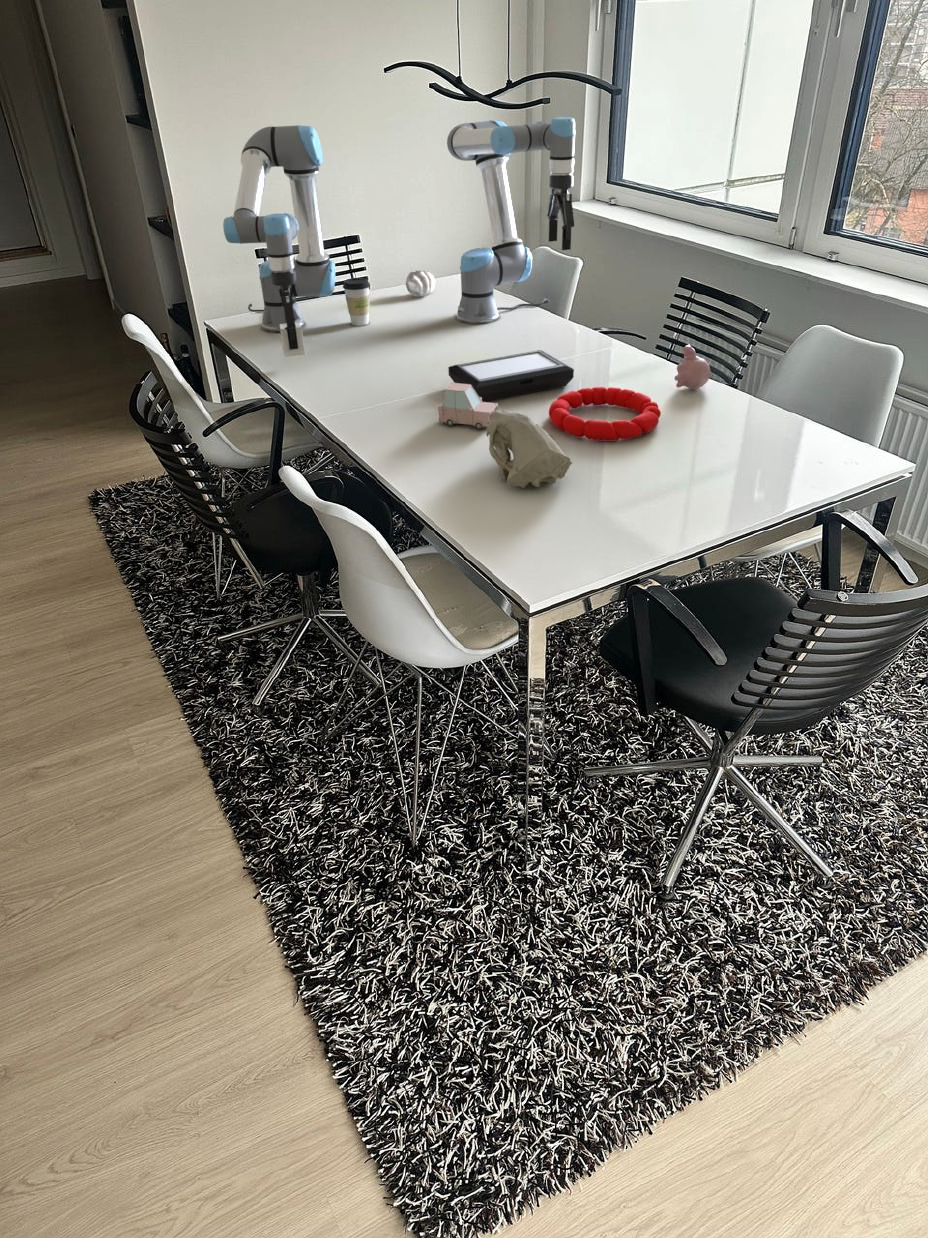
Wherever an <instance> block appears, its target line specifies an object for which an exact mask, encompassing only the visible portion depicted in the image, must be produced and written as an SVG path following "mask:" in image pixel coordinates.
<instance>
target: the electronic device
mask: <svg viewBox="0 0 928 1238" xmlns="http://www.w3.org/2000/svg"><path fill="white" fill-rule="evenodd" d="M574 374H575V369H574V368H573V367H571V366H569V365H568V364H566V363H564V362H563V361H561V360H559V359H557V358H556V357H554V356H552V355H551V354H549V353H547V352H545V350H544V351H543V350H541V349H539V350H532V351H528V352H521V353H515V354H510V355H505V356H499V357H493V358H487V359H482V360H476V361H470V362H465V363H457V364H454V365H451V366H448V376H449V378H450V379H451V380H452V381H453V383H460V384H470V385H471V386H472V387H473V389H474V390H475V391H476V393H477V394H478V396H479V397H482V402H488V401H489V402H490V401H493V400H494V401H495V400H498V399H504V398H509V397H515V396H520V395H526V394H530V393H536V392H541V391H546V390H552V389H557V388H561V387H563V388H564V387H566V386H568V384H569V383H570V382H571V381H572V380H573V379H574V377H575V376H574Z"/></svg>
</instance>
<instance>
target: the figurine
mask: <svg viewBox="0 0 928 1238" xmlns="http://www.w3.org/2000/svg"><path fill="white" fill-rule="evenodd" d="M682 354H683V358H684V359H683V361H682V362H679V363H678V364H677V365H676V372H677V375H675V376H674V381H675V382H676V381H677V382H676V384H675V386H676V388H681V387H686V388H688V389H693V390H694V389H695V390H696V389H700V388H703V387H704V386H705V385H706V384H707V383H708V382H709V379H710V377H711V367H710V364H709V362H708V361H706V359H704V358H702V357H700V356H697V353H696V350H695V349H694V347H692V345H690V344H686V345H685V346H684V347H683V348H682Z"/></svg>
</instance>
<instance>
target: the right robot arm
mask: <svg viewBox="0 0 928 1238" xmlns="http://www.w3.org/2000/svg"><path fill="white" fill-rule="evenodd" d="M575 144H576V121H575V118H574V117H568V116H559V117H553V118H552V119H551V120H550V122H546V121H536V122H535V121H534V122H533V123H526V124H516V125H515V124H514V125H507V124H506V123H504V122H503V121H501V120H491V119H490V120H485V121H476V122H464V123H460V124H457V125H456V126H455V127H453V128H452V129H451V130H450V131H449V133H448V136H447V140H446V146H447V150H448V152H449V153H450V155H451V156H452V157H453V158H455V159H456V160H459V161H462V162H463V161H464V162H467V161H468V162H469V161H470V162H471V161H475V165H476V167H475V168H477V169H478V170H479V171H480V172H481V175H482V176H481V177H482V182H483V187H484V193H485V198H486V204H487V209H488V213H489V214H488V215H489V219H490V220H489V221H490V227H491V232H492V236H493V237H492V238H493V244H492V245H491V247H478V248H473V249H469V250H467V251H465V252H464V253H463V254H462V255H461V257H460V266H459V269H460V284H461V285H460V288H461V298H460V301H459V305H458V306H457V312H456V319H457V320H458V321H459V322H461V323H466V324H486V323H487V324H488V323H492V322H495V321H496V320H498V319H499V317H500V316H499V314H500V313H499V311H501V310H504V311H511V310H516V309H518V308H520V307H538V306H542V305H543V304H544V303H545V302H546V303H549V302H550V299H548V298H545V297H544V298H543V299H542V301H540V302H538V303H518V304H516V305H515V306H510V307H506V306H505V307H504V306H503V307H501V306H499V307H497V304H496V303H497V302H496V300H495V297H494V287H498V286H504V285H510V284H517V283H521V282H525V281H526V280H527V279H528V278H529V277H530V274H531V272H532V268H533V255H532V253H531V251H530V248H528V247H527V246H524V243H523V240H522V239H521V238H519V236H518V233H517V226H516V221H515V220H516V219H515V215H514V208H513V203H512V196H511V190H510V186H509V180H508V174H507V167H506V166H507V164H508V162H509V161H510V160H509V156H511V154H516V153H524V152H534V151H549V170H548V171H549V173H550V175H549V179H548V180H549V183H548V184H549V188H550V191H549V193H550V194H549V198H548V205H547V210H546V217H547V218H548V242H558V222H559V221H558V220H559V212H560V214H561V220H562V226H561V229H562V231H561V233H562V234H561V236H562V237H561V239H562V240H561V250H562V251H568V250H572V249H571V247H572V228H574V227H575V218H574V209H573V195H572V193H569V191H568V190H569V189H572V188H573V187H574V174H573V173H574V171H575V170H574V169H575V168H574V166H575V165H576V161H575V146H576V145H575Z"/></svg>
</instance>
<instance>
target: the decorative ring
mask: <svg viewBox="0 0 928 1238" xmlns="http://www.w3.org/2000/svg"><path fill="white" fill-rule="evenodd" d="M583 405H584V406H586V407H587V406H591V405H593V406H604V405H608V406H614V407H619V408H624V409H628V410H632V411H635V412H636V413H638V414H639V415H637V416H635V417H632V418H631V419H630V420H625V419H624V420H623V419H622V420H614V421H611V422H609V421H607V420H606V421H605V420H593V419H587V420H586V421H585V419H584V418H582V417H579V416H577V415H573V414H571V413H570V410H571V409H579V408H581V407H582V406H583ZM548 416H549V419H550V422H551V423H552V425H553V426H554V427H555V428H556V429H558V430H559V431H561V432H563V433H567V434H568V435H569V436H573V437H576V438H580V439H582V438H583V437H585V438H586V439H587V440H591V441H601V442H602V441H603V442H608V441H609V442H610V441H611V442H612V441H615V442H616V441H618V440H630V439H634V438H638V437H641V436H642V434H647V433H650V432H651V431H653V430H654V429H655V428H656V427H657V426H658V424H659V422H660V421H659V420H660V417H661V410H660V408H659V405H658V403H657V402H656V401H652V399H651V397H649V396H648V395H646V394H644V393H642V392H635V391H634V390H632V389H628V388H624V389H622V388H620V387H613V386H612V387H611V386H610V387H608V388H606V387H604V386H594V387H585V388H584V387H583V388H580V389H578V390H571V391H568V392H565V393H563V394H561V395H560V396H558V397H557V398H556V400H554V401H552V403H551V404H550V407H549V409H548Z"/></svg>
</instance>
